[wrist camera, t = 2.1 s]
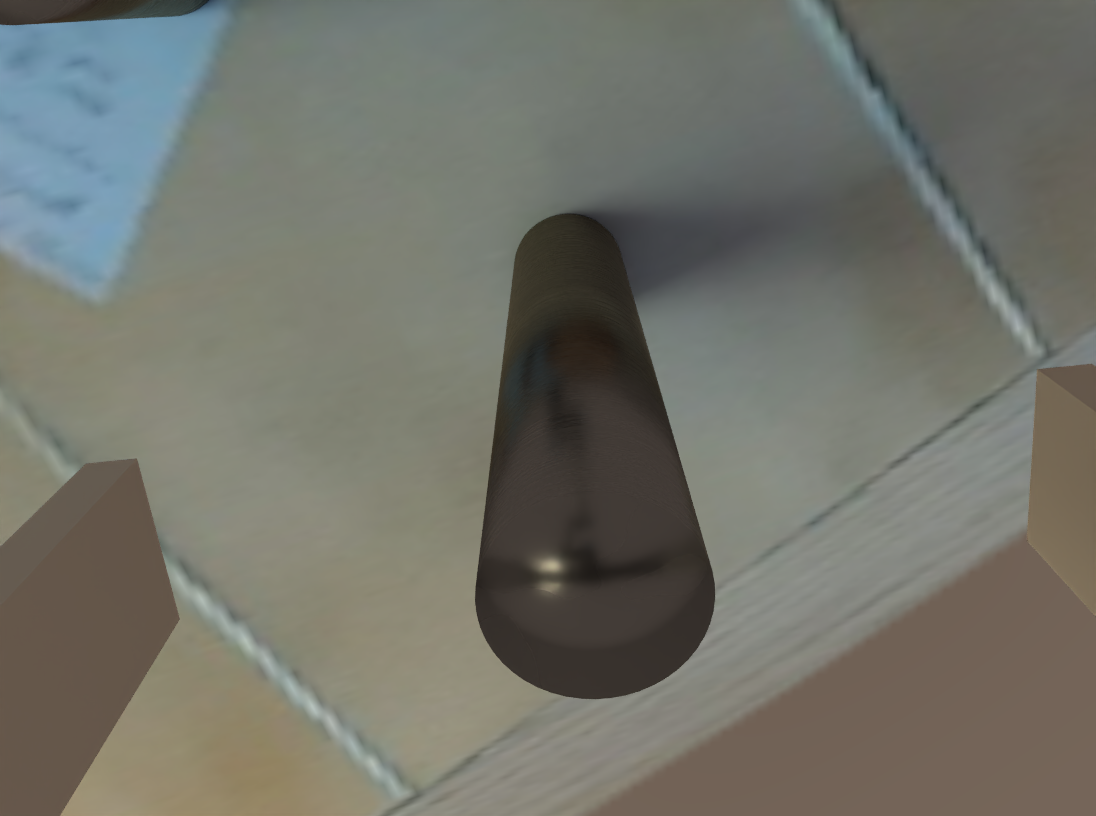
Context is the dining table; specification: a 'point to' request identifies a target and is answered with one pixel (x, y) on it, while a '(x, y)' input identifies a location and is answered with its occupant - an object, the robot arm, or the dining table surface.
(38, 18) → the short pin
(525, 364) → the long pin
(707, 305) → the dining table surface
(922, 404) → the dining table surface
